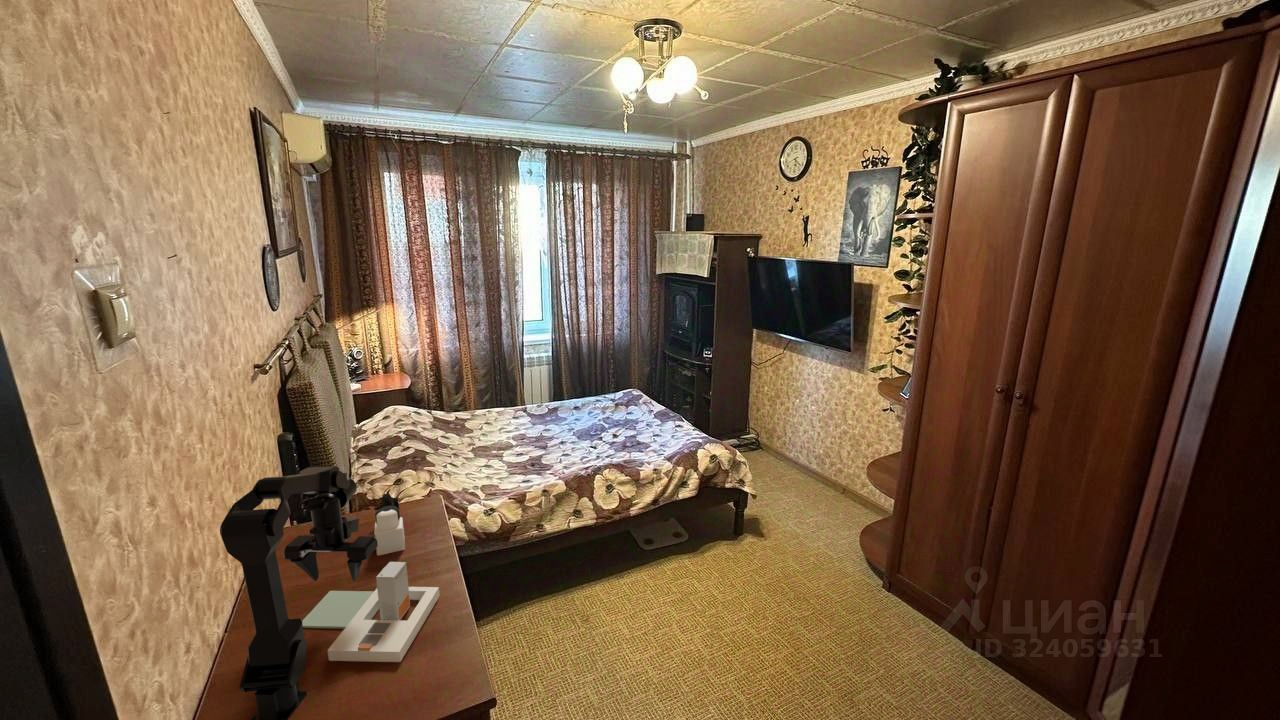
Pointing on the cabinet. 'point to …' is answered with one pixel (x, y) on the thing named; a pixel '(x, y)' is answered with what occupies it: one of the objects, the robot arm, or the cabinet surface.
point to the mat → (336, 609)
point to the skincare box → (393, 591)
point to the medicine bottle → (389, 530)
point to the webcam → (388, 501)
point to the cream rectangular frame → (382, 630)
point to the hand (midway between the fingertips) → (335, 580)
